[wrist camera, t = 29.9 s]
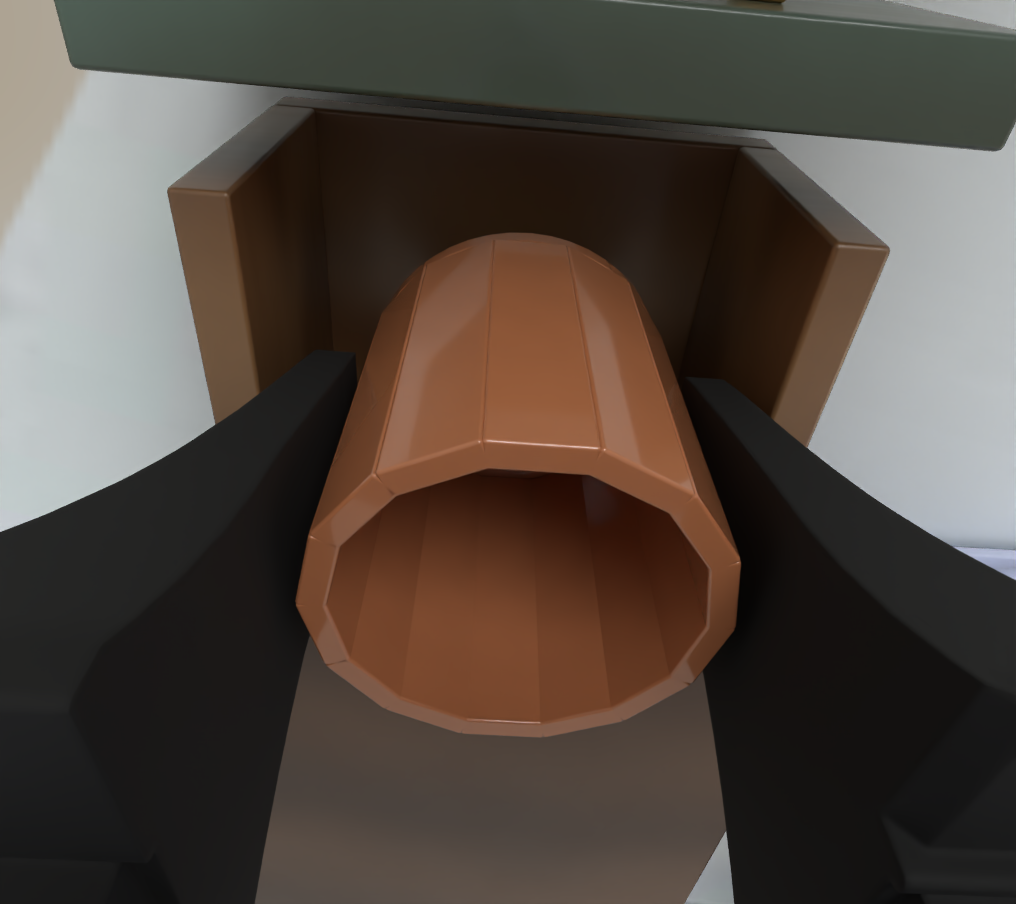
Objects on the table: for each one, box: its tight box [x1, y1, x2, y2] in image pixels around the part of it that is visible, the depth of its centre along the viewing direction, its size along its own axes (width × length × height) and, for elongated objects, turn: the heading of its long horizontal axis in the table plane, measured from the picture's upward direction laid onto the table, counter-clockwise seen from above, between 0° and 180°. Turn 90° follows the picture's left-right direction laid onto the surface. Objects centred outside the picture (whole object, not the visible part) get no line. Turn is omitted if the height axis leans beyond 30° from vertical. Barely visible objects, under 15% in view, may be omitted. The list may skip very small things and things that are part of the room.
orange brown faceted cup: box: [295, 233, 741, 738], centre depth 10 cm, size 5×5×6 cm
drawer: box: [54, 0, 1016, 448], centre depth 12 cm, size 17×11×6 cm, turn 175°
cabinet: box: [255, 636, 726, 904], centre depth 20 cm, size 14×12×8 cm
